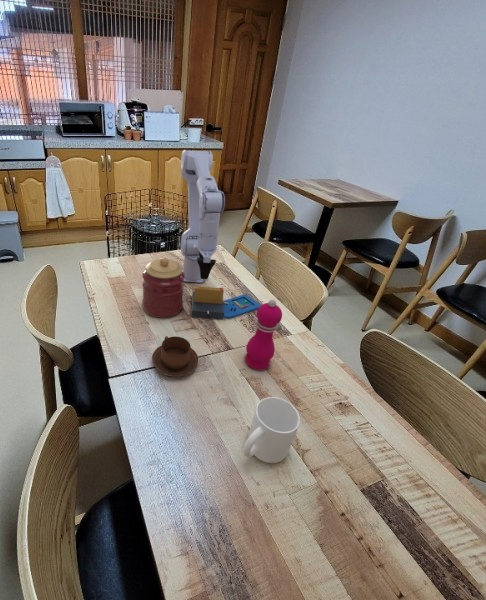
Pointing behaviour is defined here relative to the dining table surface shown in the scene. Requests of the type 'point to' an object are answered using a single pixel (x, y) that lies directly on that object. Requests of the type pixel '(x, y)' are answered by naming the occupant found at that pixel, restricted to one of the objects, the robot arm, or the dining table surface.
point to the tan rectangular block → (208, 295)
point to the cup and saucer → (175, 357)
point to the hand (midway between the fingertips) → (203, 272)
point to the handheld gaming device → (239, 306)
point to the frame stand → (207, 309)
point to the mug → (272, 430)
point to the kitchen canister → (163, 288)
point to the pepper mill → (263, 336)
